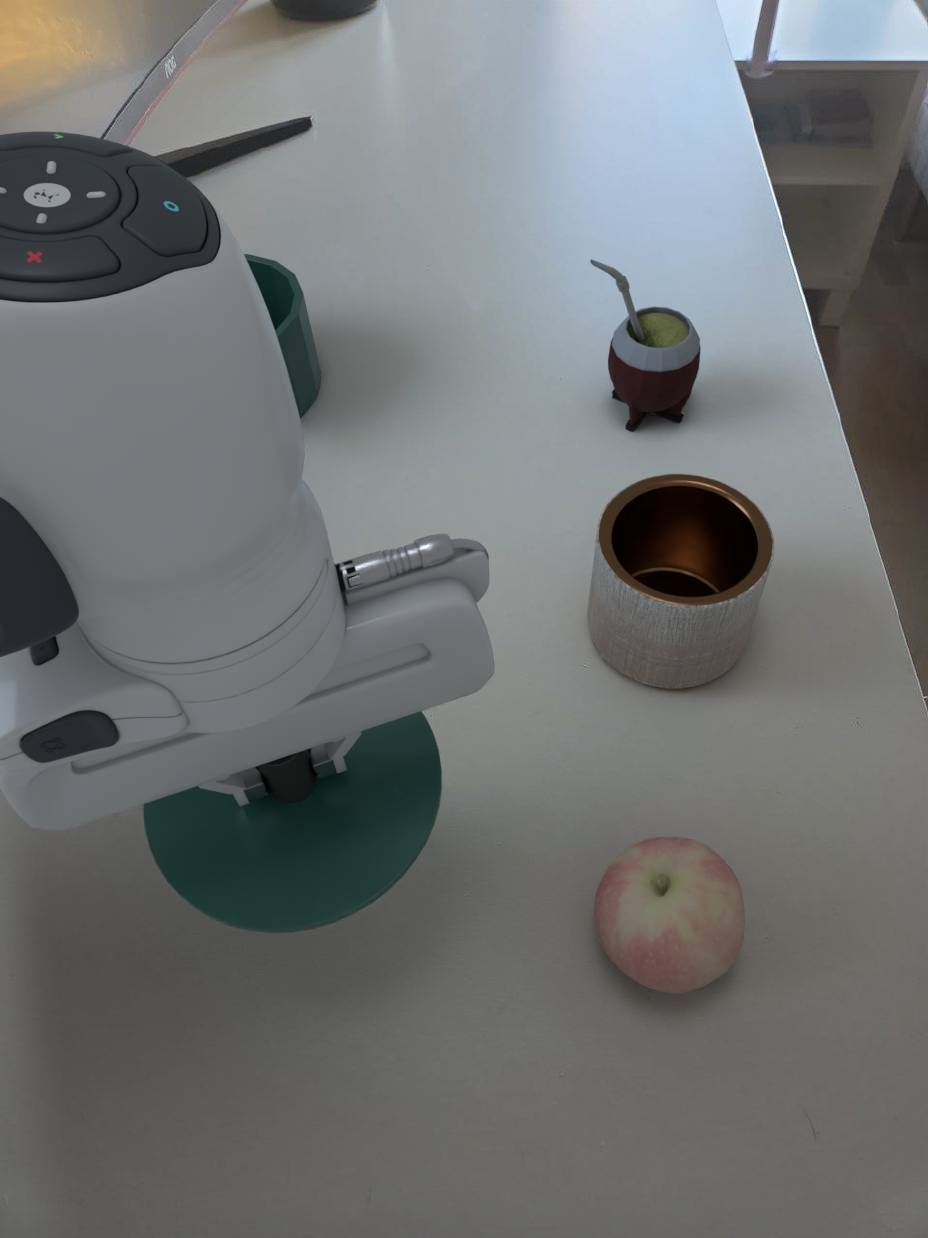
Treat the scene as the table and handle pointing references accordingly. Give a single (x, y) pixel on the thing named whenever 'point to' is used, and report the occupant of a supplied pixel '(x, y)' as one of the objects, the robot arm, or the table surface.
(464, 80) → the table surface
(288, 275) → the pot
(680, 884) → the apple
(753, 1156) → the table surface
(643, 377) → the mate gourd
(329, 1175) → the table surface
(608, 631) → the planter
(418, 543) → the robot arm
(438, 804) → the lid
